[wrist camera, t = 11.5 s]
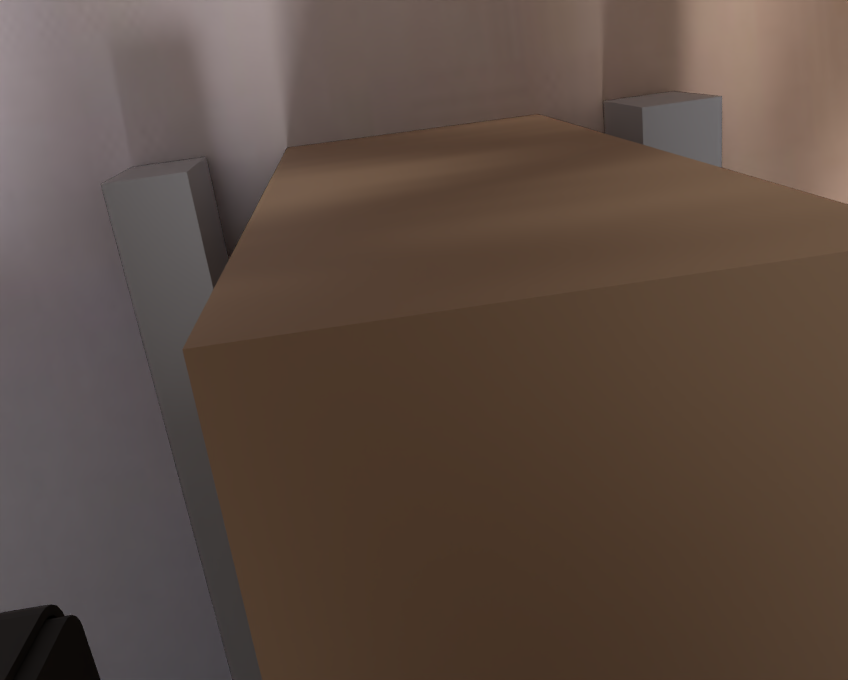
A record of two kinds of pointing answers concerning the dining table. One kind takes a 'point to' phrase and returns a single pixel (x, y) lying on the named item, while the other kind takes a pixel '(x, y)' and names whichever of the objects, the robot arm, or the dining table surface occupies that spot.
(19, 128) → the dining table surface
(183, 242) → the cabinet
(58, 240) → the dining table surface
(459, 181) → the door
